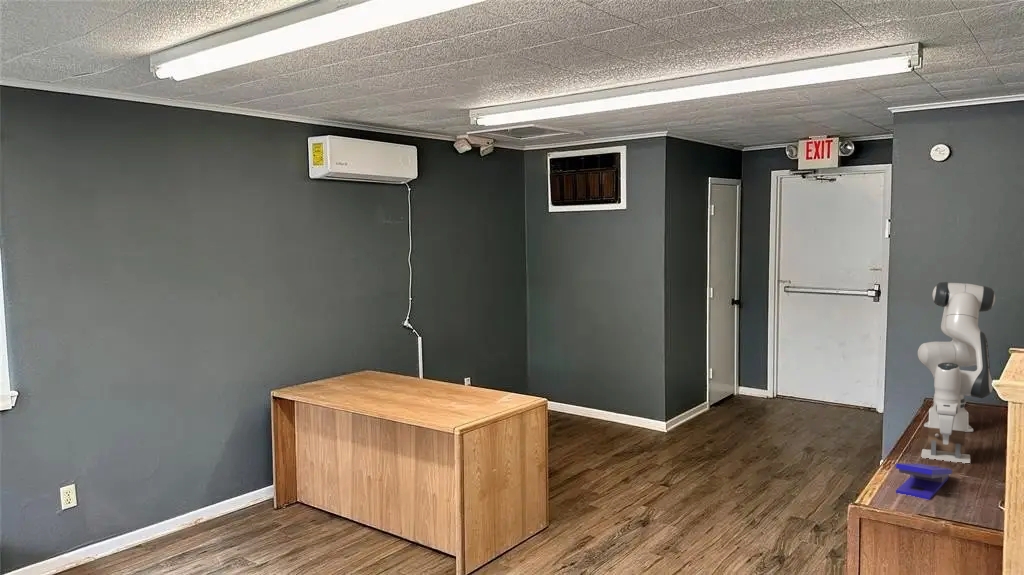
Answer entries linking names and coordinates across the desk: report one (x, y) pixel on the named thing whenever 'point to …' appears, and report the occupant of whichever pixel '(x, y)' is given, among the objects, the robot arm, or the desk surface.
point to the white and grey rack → (945, 454)
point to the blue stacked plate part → (922, 479)
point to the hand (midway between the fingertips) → (946, 441)
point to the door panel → (953, 439)
